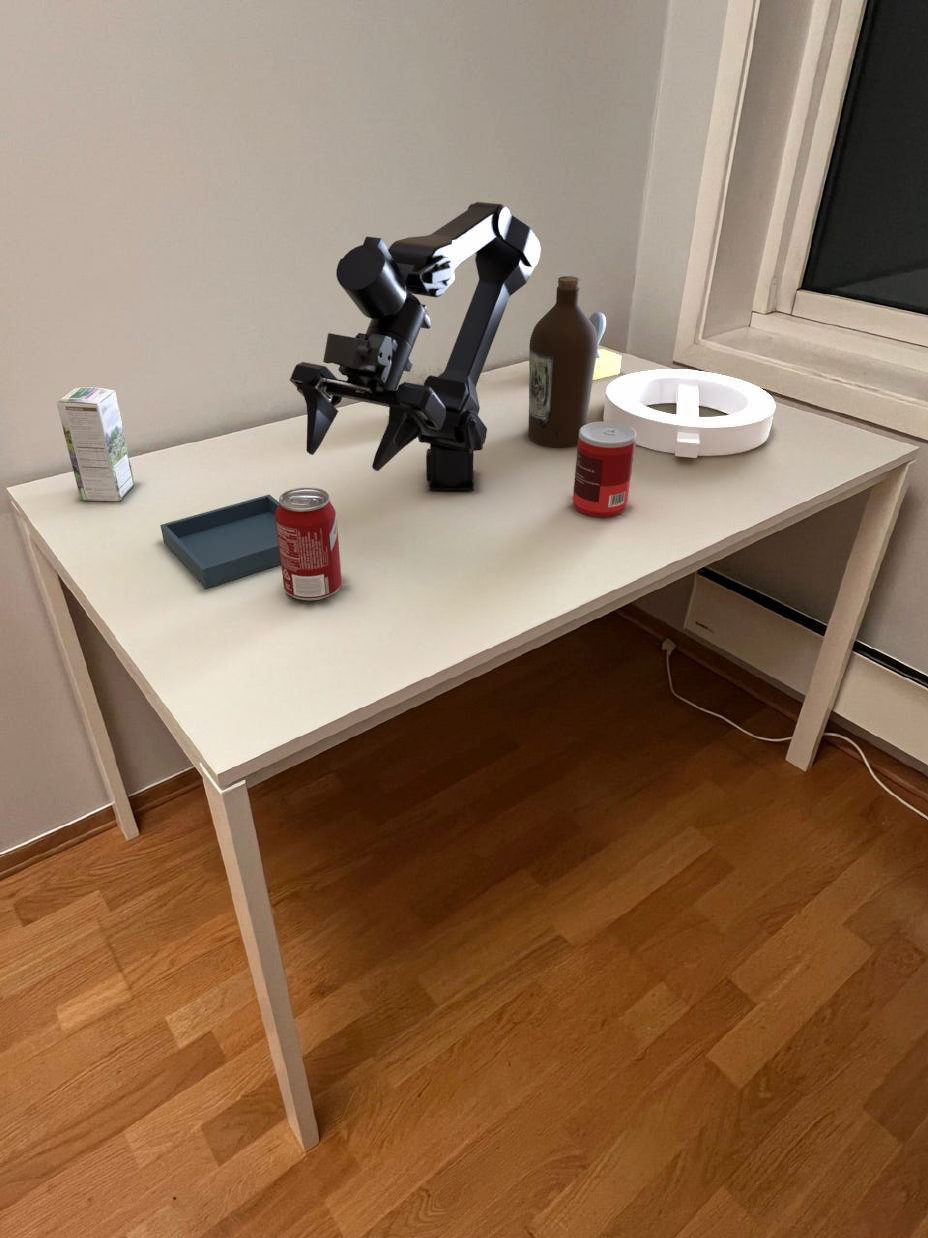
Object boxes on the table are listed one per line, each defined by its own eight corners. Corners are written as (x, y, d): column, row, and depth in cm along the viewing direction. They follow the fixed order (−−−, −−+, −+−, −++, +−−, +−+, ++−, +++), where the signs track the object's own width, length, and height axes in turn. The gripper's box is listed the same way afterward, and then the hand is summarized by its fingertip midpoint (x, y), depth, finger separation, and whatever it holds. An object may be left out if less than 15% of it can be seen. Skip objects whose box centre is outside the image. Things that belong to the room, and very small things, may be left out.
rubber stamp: (600, 366, 170) (606, 305, 163) (620, 374, 166) (628, 311, 160) (563, 375, 165) (568, 312, 159) (583, 383, 161) (589, 319, 155)
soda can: (331, 608, 96) (322, 514, 90) (275, 601, 97) (263, 508, 91) (349, 578, 102) (342, 487, 95) (296, 571, 103) (286, 481, 96)
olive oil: (568, 421, 145) (581, 267, 131) (600, 443, 137) (618, 283, 123) (513, 430, 142) (520, 273, 127) (543, 453, 134) (555, 289, 119)
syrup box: (97, 483, 123) (72, 386, 114) (137, 485, 122) (115, 387, 114) (80, 501, 118) (53, 400, 110) (121, 502, 118) (97, 402, 109)
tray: (271, 511, 116) (269, 494, 114) (319, 551, 107) (317, 533, 105) (164, 543, 108) (159, 524, 107) (205, 589, 99) (202, 569, 98)
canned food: (631, 497, 121) (641, 424, 115) (621, 522, 115) (631, 446, 108) (579, 489, 123) (586, 417, 117) (566, 513, 117) (573, 438, 110)
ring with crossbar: (685, 385, 161) (689, 360, 159) (804, 433, 142) (811, 406, 139) (570, 412, 149) (573, 386, 146) (684, 469, 129) (689, 440, 127)
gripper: (290, 290, 95) (239, 414, 94) (432, 313, 88) (380, 448, 86) (336, 343, 106) (290, 455, 104) (467, 367, 98) (420, 488, 97)
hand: (341, 461), depth 97 cm, fingers open, 9 cm apart
